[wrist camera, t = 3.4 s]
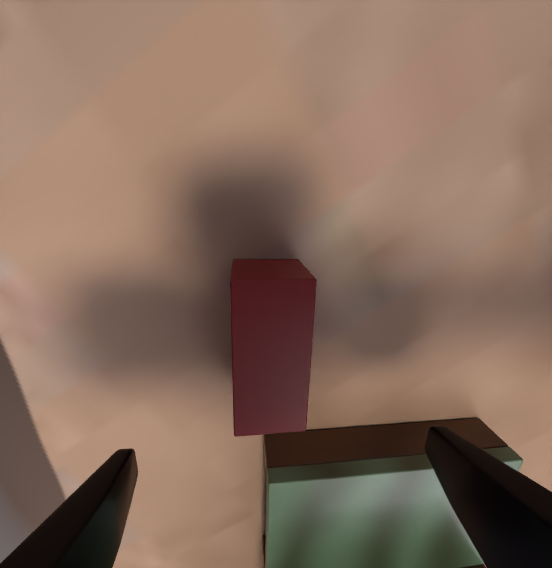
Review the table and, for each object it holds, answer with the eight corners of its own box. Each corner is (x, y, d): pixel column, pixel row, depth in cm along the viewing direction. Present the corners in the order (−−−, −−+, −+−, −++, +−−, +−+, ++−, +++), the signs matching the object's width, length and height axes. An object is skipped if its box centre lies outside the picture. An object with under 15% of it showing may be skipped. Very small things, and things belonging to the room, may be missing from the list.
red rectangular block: (298, 258, 15) (317, 279, 12) (292, 381, 18) (306, 432, 14) (232, 258, 15) (229, 280, 11) (235, 384, 17) (233, 437, 14)
